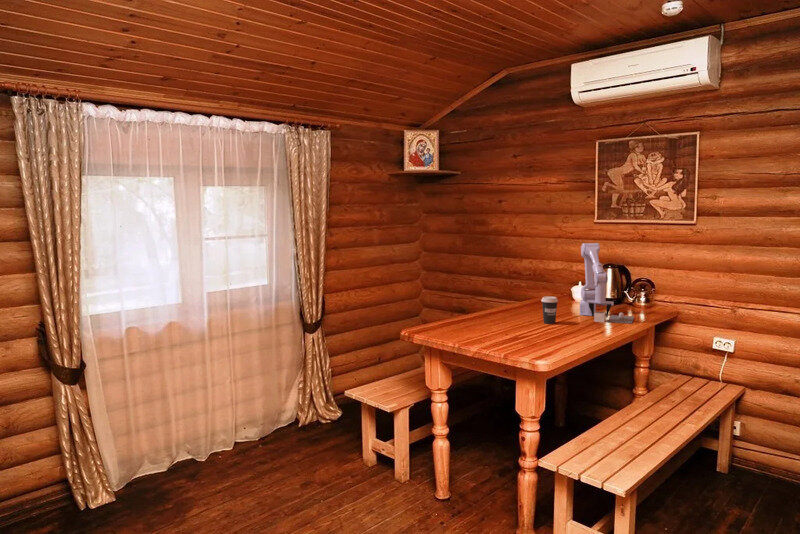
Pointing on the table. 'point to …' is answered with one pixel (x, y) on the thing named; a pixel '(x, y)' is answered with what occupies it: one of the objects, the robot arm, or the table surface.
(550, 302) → the coffee cup
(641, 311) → the table surface
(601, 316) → the collar
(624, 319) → the duct board
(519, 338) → the table surface
